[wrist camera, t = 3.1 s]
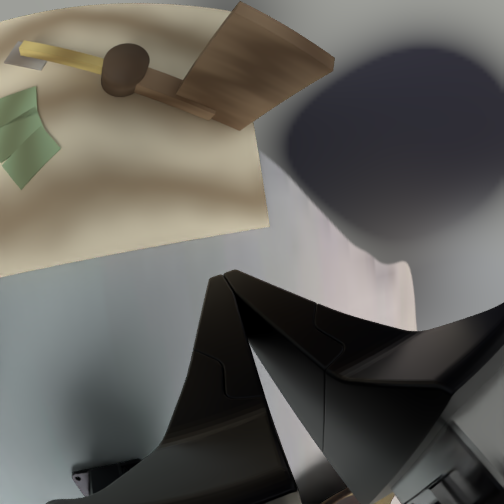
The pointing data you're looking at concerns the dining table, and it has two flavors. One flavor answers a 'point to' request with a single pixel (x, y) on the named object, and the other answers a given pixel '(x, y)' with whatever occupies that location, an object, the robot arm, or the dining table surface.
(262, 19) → the brown piece
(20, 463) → the dining table surface
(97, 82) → the dial board
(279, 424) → the dining table surface
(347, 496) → the oil lamp
